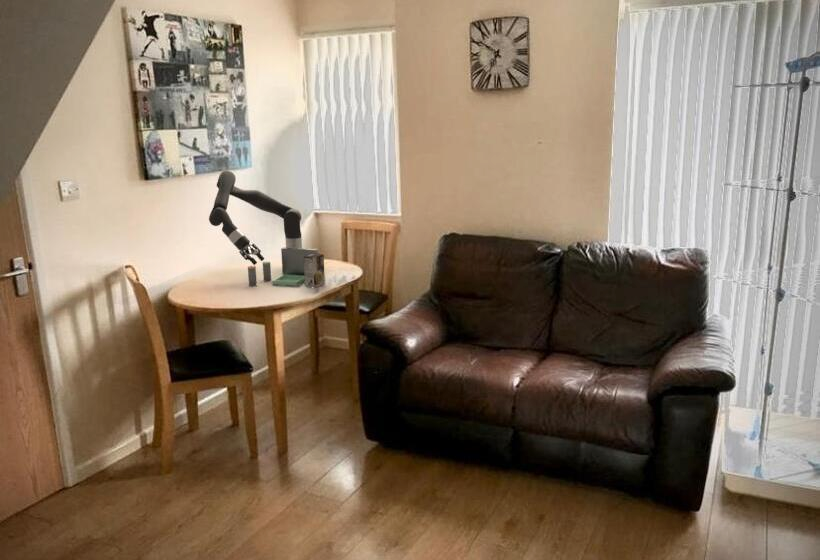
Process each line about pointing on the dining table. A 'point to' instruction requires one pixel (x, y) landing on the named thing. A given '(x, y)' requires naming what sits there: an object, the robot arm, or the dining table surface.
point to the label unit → (294, 260)
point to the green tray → (289, 280)
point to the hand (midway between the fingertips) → (259, 261)
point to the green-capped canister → (266, 271)
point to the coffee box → (314, 270)
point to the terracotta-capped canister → (252, 275)
